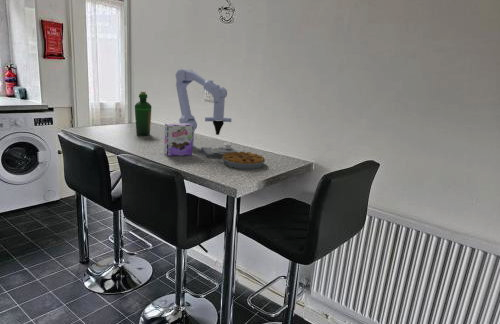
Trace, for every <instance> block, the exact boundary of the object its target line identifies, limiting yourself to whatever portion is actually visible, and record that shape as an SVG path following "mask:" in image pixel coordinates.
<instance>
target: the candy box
mask: <svg viewBox="0 0 500 324" xmlns="http://www.w3.org/2000/svg"><path fill="white" fill-rule="evenodd" d="M163 140H164V141H163V143H164V144H163V154H164V155H165V156H166V157H177V156H178V157H180V156H193V147H192V141H193V125H191V124H179V123H166V122H165V123H164V139H163Z"/></svg>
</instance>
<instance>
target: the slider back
mask: <svg viewBox="0 0 500 324" xmlns="http://www.w3.org/2000/svg"><path fill="white" fill-rule="evenodd" d="M223 148H225V149H230V148H232V147H231V143H229V142H223Z"/></svg>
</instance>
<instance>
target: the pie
mask: <svg viewBox="0 0 500 324" xmlns="http://www.w3.org/2000/svg"><path fill="white" fill-rule="evenodd" d="M221 159H222V160H223V162H224V165H226V166H228V167H229V166H230V168H233V167H234V168H233V169H238V168H240V169H239V170H253V169H259V168H262V167H263V166H262V165H263V164H264V163H265V161H266V159H265V157H264V156H262V155H260V154H257V153H252V152H249V151H247V152H245V151H239V152H238V151H237V152H232V153H230V152H227V153H226V154H225V153H224V154H223V156H222V158H221Z"/></svg>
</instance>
